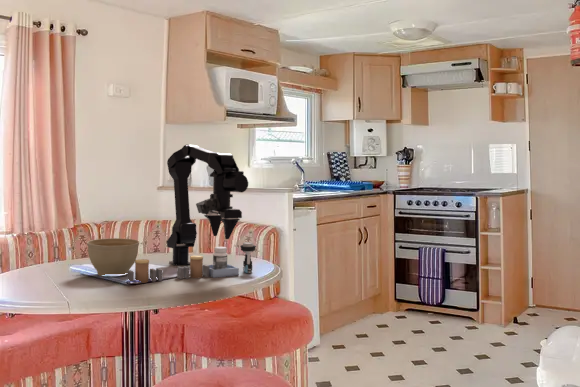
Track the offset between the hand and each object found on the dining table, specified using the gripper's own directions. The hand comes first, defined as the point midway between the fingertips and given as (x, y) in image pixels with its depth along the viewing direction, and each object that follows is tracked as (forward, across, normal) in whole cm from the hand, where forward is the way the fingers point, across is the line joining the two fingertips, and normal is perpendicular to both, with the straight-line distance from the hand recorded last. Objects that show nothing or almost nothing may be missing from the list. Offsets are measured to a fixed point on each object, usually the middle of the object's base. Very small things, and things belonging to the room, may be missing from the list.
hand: (220, 237), depth 192 cm
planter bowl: (+12, -13, -32) cm, 37 cm away
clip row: (+12, +1, -18) cm, 22 cm away
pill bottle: (+12, 0, 0) cm, 12 cm away
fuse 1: (+12, +1, -27) cm, 30 cm away
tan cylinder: (+12, +1, -9) cm, 15 cm away
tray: (+12, 0, 0) cm, 12 cm away
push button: (+13, +1, +10) cm, 16 cm away
